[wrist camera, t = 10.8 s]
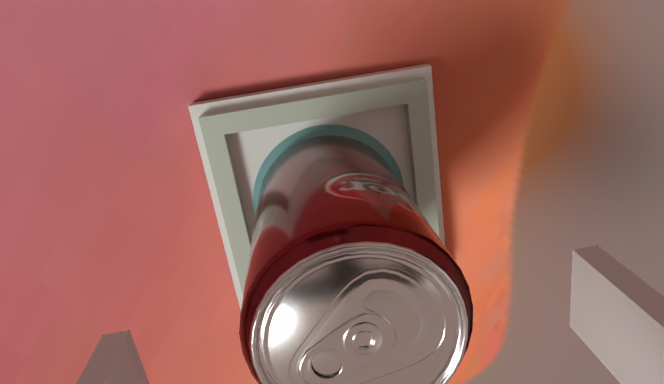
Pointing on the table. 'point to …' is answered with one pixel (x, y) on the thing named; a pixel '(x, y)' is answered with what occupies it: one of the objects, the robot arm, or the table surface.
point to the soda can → (348, 276)
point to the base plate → (310, 121)
